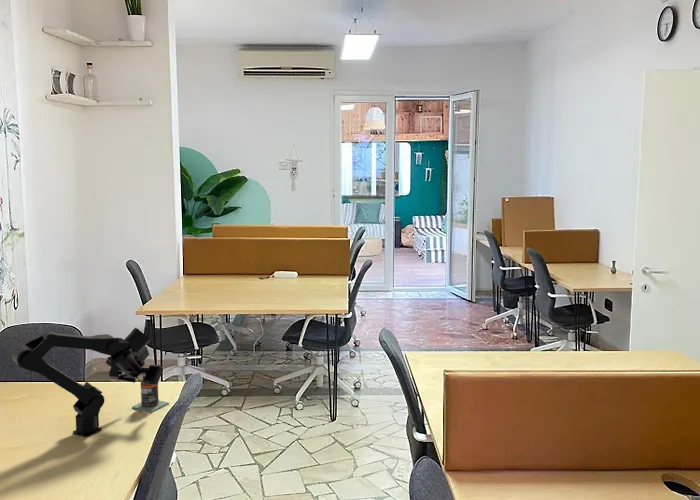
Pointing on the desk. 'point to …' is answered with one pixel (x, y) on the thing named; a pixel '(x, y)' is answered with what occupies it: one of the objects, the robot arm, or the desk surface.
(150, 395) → the supplement bottle
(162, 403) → the mat
